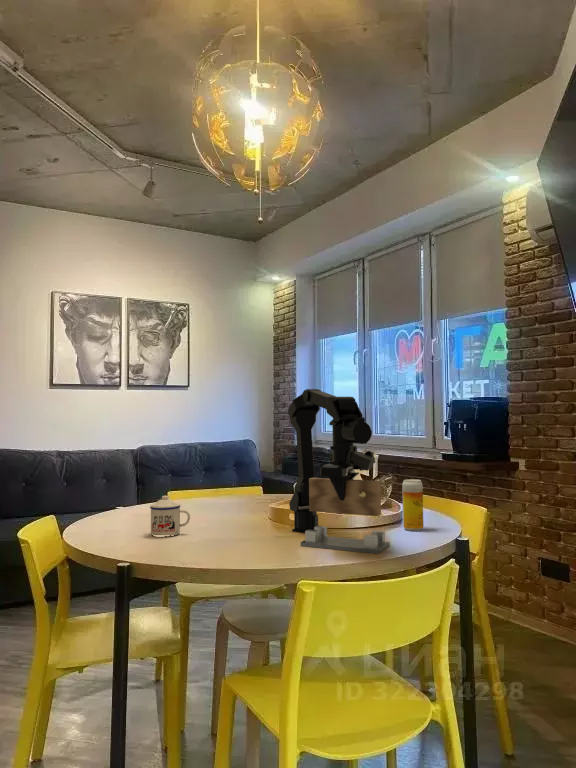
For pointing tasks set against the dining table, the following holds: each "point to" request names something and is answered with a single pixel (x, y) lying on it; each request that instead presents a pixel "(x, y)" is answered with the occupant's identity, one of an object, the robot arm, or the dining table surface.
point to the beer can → (412, 505)
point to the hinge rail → (345, 541)
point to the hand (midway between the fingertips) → (344, 499)
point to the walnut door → (358, 497)
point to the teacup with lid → (166, 517)
